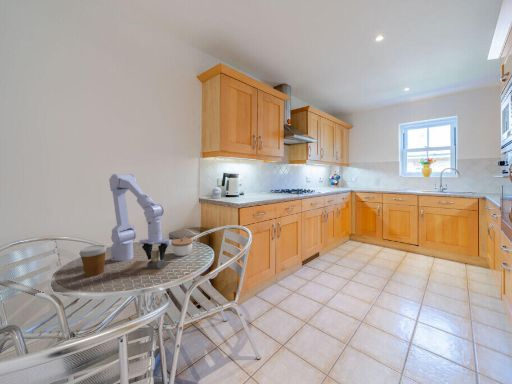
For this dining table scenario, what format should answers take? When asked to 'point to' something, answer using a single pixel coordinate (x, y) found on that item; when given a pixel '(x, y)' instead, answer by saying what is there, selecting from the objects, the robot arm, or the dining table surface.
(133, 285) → the dining table surface
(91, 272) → the disposable coffee cup
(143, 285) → the dining table surface
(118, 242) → the robot arm
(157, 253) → the tan wooden block
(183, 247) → the lidded jar
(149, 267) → the grey square socket
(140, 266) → the walnut board
